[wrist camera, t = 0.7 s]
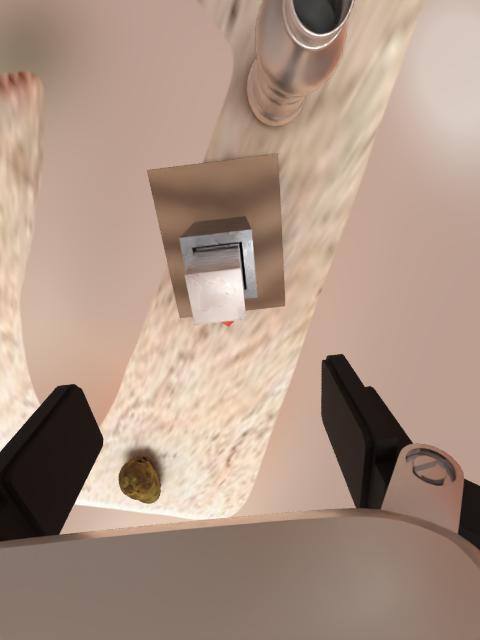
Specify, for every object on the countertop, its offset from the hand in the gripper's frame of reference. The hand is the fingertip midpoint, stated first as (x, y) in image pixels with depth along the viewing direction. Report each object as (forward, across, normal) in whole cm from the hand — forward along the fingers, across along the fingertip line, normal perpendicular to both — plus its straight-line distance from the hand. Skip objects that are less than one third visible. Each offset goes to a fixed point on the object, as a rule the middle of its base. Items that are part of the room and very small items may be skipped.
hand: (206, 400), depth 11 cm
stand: (+32, 0, 0) cm, 32 cm away
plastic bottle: (+32, -8, -16) cm, 37 cm away
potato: (+33, +22, +43) cm, 58 cm away
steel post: (+31, 0, 0) cm, 31 cm away
